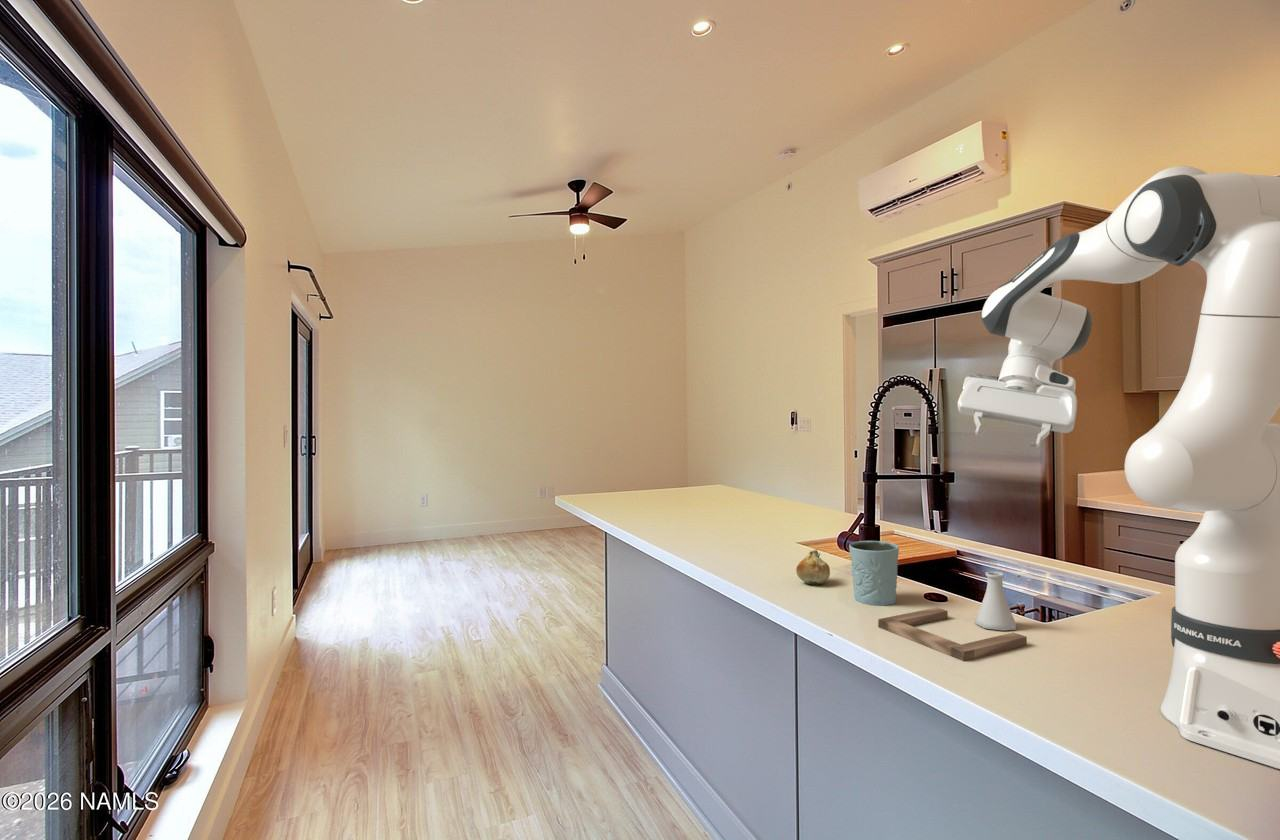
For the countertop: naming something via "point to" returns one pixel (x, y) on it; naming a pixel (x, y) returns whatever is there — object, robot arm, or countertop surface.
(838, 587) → the countertop surface
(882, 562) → the blue embossed cup
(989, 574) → the flask
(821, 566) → the onion
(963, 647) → the walnut bay
